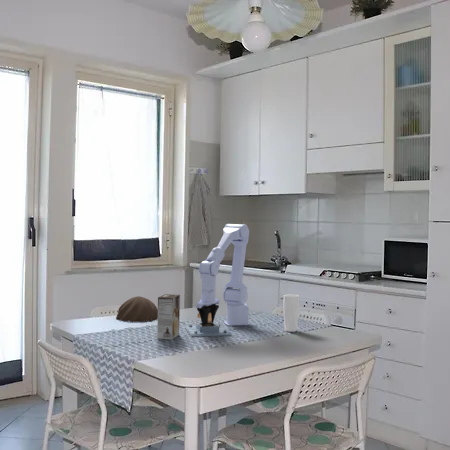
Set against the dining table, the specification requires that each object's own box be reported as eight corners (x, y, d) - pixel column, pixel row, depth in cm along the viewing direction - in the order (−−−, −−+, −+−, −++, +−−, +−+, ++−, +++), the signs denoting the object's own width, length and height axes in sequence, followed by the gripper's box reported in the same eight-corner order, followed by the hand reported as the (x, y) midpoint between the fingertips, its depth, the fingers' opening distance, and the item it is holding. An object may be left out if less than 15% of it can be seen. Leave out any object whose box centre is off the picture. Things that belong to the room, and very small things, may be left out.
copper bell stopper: (213, 326, 227) (213, 312, 227) (207, 328, 224) (207, 313, 224) (202, 325, 231) (202, 310, 231) (196, 326, 228) (196, 311, 228)
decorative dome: (130, 312, 267) (130, 292, 267) (166, 316, 260) (167, 295, 259) (107, 319, 249) (107, 297, 249) (145, 323, 242) (146, 301, 242)
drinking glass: (280, 331, 231) (280, 295, 230) (286, 328, 237) (286, 293, 236) (295, 333, 227) (296, 296, 227) (301, 330, 233) (302, 294, 233)
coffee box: (164, 333, 221) (164, 293, 221) (179, 334, 220) (180, 294, 220) (156, 338, 212) (157, 297, 212) (172, 339, 211) (173, 297, 211)
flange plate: (222, 327, 236) (222, 320, 236) (231, 335, 221) (231, 327, 221) (185, 328, 233) (185, 321, 233) (191, 336, 217) (191, 329, 217)
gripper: (209, 287, 235) (209, 319, 235) (190, 291, 222) (189, 324, 223) (224, 289, 231) (223, 321, 231) (204, 292, 219) (204, 327, 219)
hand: (207, 323), depth 227 cm, fingers closed on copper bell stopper, 4 cm apart
